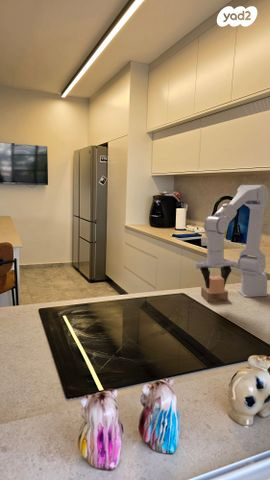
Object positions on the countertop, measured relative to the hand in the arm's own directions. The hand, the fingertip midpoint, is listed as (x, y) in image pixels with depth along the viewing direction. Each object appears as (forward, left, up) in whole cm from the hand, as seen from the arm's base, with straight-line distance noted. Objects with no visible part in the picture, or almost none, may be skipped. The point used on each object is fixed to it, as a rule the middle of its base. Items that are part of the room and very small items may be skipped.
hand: (215, 287), depth 118 cm
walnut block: (-3, -11, -8) cm, 14 cm away
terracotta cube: (0, 0, -2) cm, 2 cm away
